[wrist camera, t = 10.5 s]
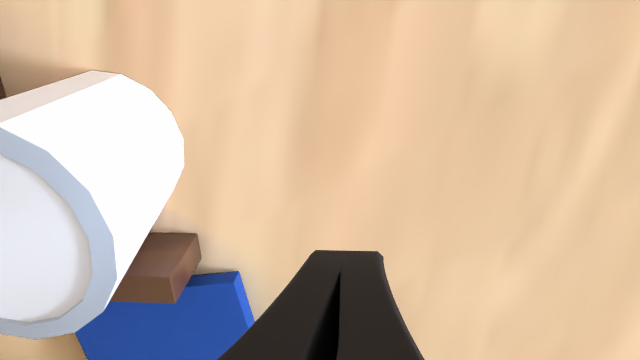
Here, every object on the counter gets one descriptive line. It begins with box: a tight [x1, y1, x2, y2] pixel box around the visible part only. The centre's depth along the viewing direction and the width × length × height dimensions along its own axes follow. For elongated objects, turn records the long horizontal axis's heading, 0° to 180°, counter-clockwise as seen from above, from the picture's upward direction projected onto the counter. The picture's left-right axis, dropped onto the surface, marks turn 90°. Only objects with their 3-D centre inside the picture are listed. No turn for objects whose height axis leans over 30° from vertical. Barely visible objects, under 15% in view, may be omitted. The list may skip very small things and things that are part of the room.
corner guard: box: [0, 79, 201, 304], centre depth 20 cm, size 8×11×3 cm
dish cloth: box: [75, 271, 255, 360], centre depth 25 cm, size 8×7×1 cm
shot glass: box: [0, 71, 184, 340], centre depth 18 cm, size 7×7×7 cm
